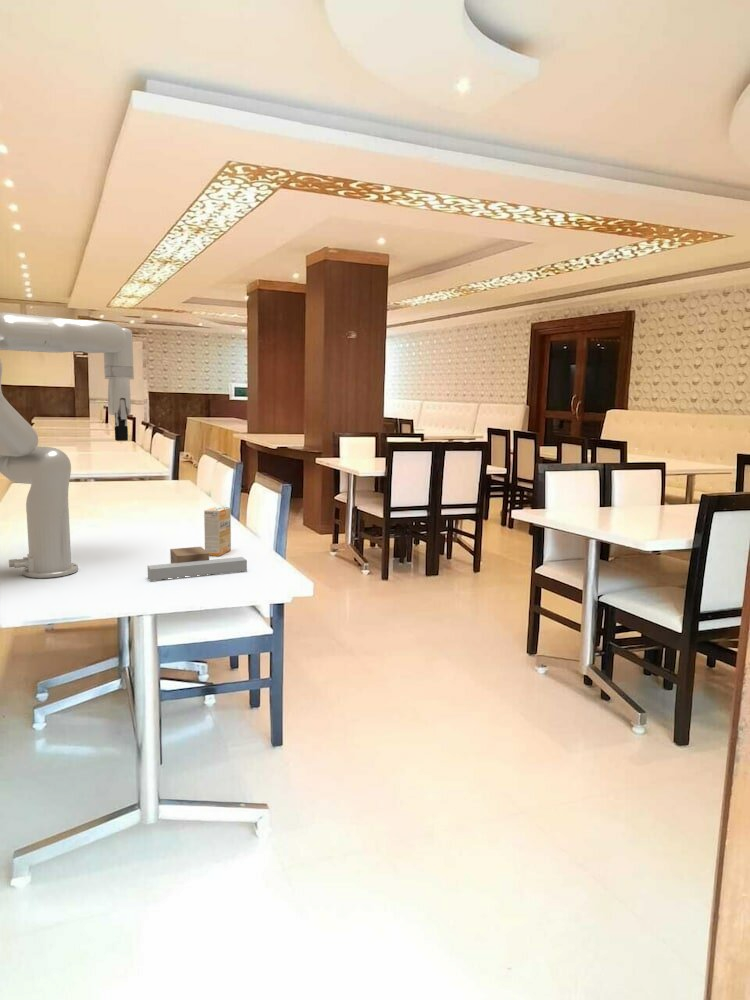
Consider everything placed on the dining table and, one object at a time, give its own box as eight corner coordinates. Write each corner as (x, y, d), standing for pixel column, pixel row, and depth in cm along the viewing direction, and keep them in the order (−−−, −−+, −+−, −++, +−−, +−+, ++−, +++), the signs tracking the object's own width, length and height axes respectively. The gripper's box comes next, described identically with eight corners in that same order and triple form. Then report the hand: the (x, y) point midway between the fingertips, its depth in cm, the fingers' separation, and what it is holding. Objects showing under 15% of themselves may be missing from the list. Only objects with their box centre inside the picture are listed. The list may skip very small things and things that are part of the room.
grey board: (150, 581, 166) (150, 569, 166) (147, 577, 170) (147, 565, 169) (246, 571, 177) (246, 560, 177) (242, 568, 181) (242, 556, 180)
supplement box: (220, 556, 193) (219, 510, 192) (204, 555, 194) (203, 510, 193) (231, 550, 201) (231, 506, 200) (216, 549, 202) (215, 505, 201)
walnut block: (177, 575, 173) (177, 556, 173) (170, 567, 181) (170, 549, 180) (209, 572, 177) (208, 553, 176) (201, 564, 185) (200, 546, 184)
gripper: (101, 374, 193) (104, 439, 196) (108, 372, 180) (110, 442, 183) (129, 374, 197) (131, 439, 199) (137, 373, 183) (140, 442, 186)
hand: (121, 440), depth 191 cm, fingers closed
